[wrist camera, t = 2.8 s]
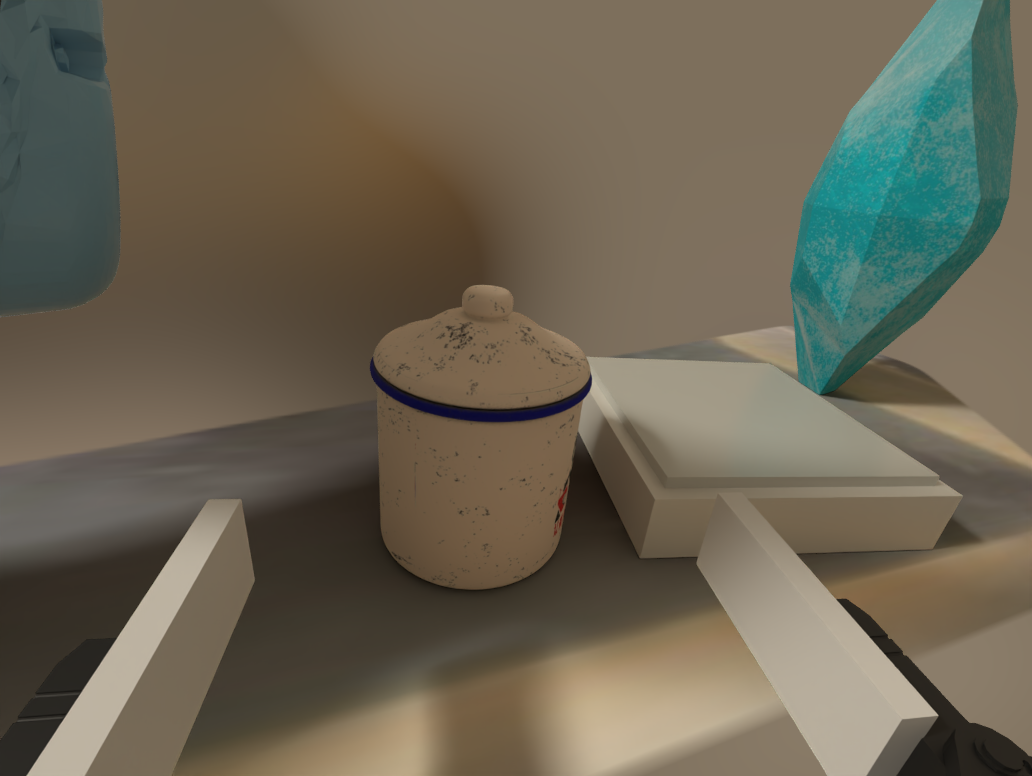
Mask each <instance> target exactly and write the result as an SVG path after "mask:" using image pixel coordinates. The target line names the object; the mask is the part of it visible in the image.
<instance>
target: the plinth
mask: <svg viewBox="0 0 1032 776" xmlns="http://www.w3.org/2000/svg"><path fill="white" fill-rule="evenodd" d="M586 358H587V360H588V363H589V365H590V372H591V375H592V386H591V389H590V391H589V393H588V394H587V396H586V397H585V398H584V399H583V404H582V410H581V416H580V422H579V428H578V432H579V434H580V436H581V438H582V440H583V442H584V444H585V446H586V448H587V450H588V452H589V454H590V456H591V458H592V461H593V463H594V465H595V467H596V469H597V471H598V473H599V475H600V477H601V479H602V481H603V483H604V485H605V487H606V489H607V492H608V494H609V496H610V498H611V500H612V502H613V504H614V506H615V508H616V510H617V512H618V514H619V516H620V518H621V520H622V523H623V525H624V527H625V529H626V531H627V533H628V535H629V537H630V539H631V541H632V543H633V545H634V547H635V549H636V551H637V554H638V556H639V558H670V557H698V556H699V553H700V550H701V546H702V543H703V540H704V537H705V533H706V530H707V527H708V524H709V520H710V517H711V514H712V511H713V507H714V504H715V501H716V497H717V494H718V493H732V492H742V493H743V494H744V496H745V497H746V498H747V499H748V500H749V501H750V502H751V503H752V505H753V506H754V507H755V508H756V509H757V510H758V511H759V513H760V514H761V515H762V516H763V517H764V518H765V519H766V520H767V522H768V523H769V524H770V525H771V526H772V527H773V528H774V530H775V531H776V532H777V533H778V534H779V535H780V536H781V537H782V539H783V540H784V541H785V542H786V543H787V544H788V545H789V547H790V548H791V549H792V550H793V551H794V552H795V553H796V554H798V553H831V552H863V551H895V550H927V549H933V547H934V546H935V544H936V542H937V540H938V539H939V537H940V535H941V533H942V532H943V530H944V528H945V526H946V525H947V523H948V521H949V519H950V518H951V516H952V514H953V512H954V511H955V509H956V507H957V505H958V504H959V502H960V500H961V499H962V497H963V496H962V495H961V494H959V493H958V492H956V491H955V490H953V489H952V488H950V487H949V486H947V485H946V484H944V483H943V482H941V481H940V480H938V479H939V477H940V476H939V475H937V474H936V473H934V472H933V471H931V470H930V469H928V468H927V467H925V466H924V465H922V464H921V463H919V462H918V461H916V460H915V459H913V458H912V457H910V456H909V455H907V454H906V453H904V452H903V451H901V450H900V449H898V448H897V447H895V446H894V445H892V444H891V443H889V442H888V441H886V440H885V439H883V438H882V437H880V436H879V435H877V434H876V433H874V432H873V431H871V430H870V429H868V428H867V427H865V426H864V425H862V424H861V423H859V422H858V421H856V420H855V419H853V418H852V417H850V416H849V415H847V414H846V413H844V412H842V411H841V410H839V409H838V408H836V407H835V406H833V405H832V404H830V403H829V402H827V401H826V400H824V399H823V398H821V397H820V396H818V395H817V394H815V393H814V392H812V391H811V390H809V389H808V388H806V387H805V386H803V385H802V384H800V383H799V382H797V381H796V380H794V379H793V378H791V377H790V376H788V375H787V374H785V373H784V372H782V371H781V370H779V369H778V368H776V367H775V366H773V365H772V364H767V363H739V362H712V361H684V360H656V359H629V358H601V357H586Z"/></svg>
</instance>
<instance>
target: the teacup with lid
mask: <svg viewBox="0 0 1032 776" xmlns="http://www.w3.org/2000/svg"><path fill="white" fill-rule="evenodd" d="M462 306H463V307H460V308H454V309H450V310H447V311H445V312H443V313H440V314H438V315H436V316H435V317H433V318H431V319H427V320H421V321H417V322H413V323H410V324H406V325H404V326H401V327H399V328H397V329H395V330H393V331H391V332H390V333H388V334H387V335H386V336H385V337H384V338H383V339H382V340H381V341H380V342H379V344H378V345H377V347H376V349H375V351H374V356H373V357H372V360H371V363H370V371H371V376H372V378H373V380H374V382H375V383H376V384H377V408H378V446H379V484H380V522H381V533H382V537H383V540H384V543H385V545H386V547H387V549H388V550H389V552H390V553H391V555H392V556H393V557H394V559H395V560H396V561H397V562H398V563H399V564H400V565H401V566H403V567H404V568H405V569H406V570H408V571H409V572H411V573H413V574H414V575H416V576H418V577H420V578H422V579H424V580H426V581H429V582H431V583H434V584H437V585H441V586H445V587H450V588H456V589H467V590H481V589H491V588H496V587H501V586H505V585H509V584H512V583H514V582H517V581H519V580H522V579H524V578H526V577H528V576H529V575H531V574H533V573H534V572H536V571H537V570H538V569H540V568H541V567H542V566H543V565H544V564H545V563H546V562H547V561H548V560H549V558H550V557H551V556H552V555H553V553H554V551H555V550H556V548H557V545H558V543H559V540H560V536H561V530H562V524H563V518H564V512H565V506H566V500H567V494H568V488H569V482H570V476H571V470H572V464H573V458H574V452H575V446H576V440H577V434H578V428H579V422H580V416H581V410H582V404H583V399H584V398H585V397H586V396H587V394H588V393H589V391H590V389H591V386H592V375H591V372H590V365H589V363H588V360H587V358H586V356H585V354H584V353H583V352H582V351H581V349H580V348H579V347H578V346H576V345H575V344H574V343H573V342H571V341H570V340H568V339H567V338H565V337H563V336H561V335H559V334H557V333H554V332H552V331H550V330H547V329H544V328H541V327H540V326H539V325H537V324H536V323H535V322H534V321H532V320H531V319H529V318H528V317H526V316H524V315H522V314H520V313H517V312H513V311H512V309H513V297H512V295H511V293H510V292H509V291H508V290H506V289H504V288H501V287H497V286H490V285H477V286H472V287H469V288H468V289H467V290H466V291H465V292H464V294H463V300H462Z"/></svg>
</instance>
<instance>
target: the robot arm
mask: <svg viewBox="0 0 1032 776" xmlns="http://www.w3.org/2000/svg"><path fill="white" fill-rule="evenodd" d="M106 63H107V56H106V48H105V40H104V33H103V7H102V0H0V317H6V316H14V315H23V314H32V313H40V312H49V311H56V310H65V309H71V308H74V307H77V306H80V305H83V304H86V302H89V301H91V300H93V299H94V298H96V297H98V296H99V295H100V294H102V293H103V292H104V291H105V290H106V289H107V288H108V287H109V285H110V284H111V283H112V281H113V279H114V277H115V275H116V272H117V268H118V265H119V258H120V197H119V179H118V165H117V151H116V137H115V126H114V116H113V107H112V97H111V90H110V85H109V81H108V78H107V75H106V73H105V68H104V67H105V65H106ZM696 564H697V566H698V568H699V569H700V571H701V572H702V574H703V576H704V577H705V579H706V580H707V582H708V584H709V585H710V587H711V588H712V590H713V592H714V593H715V595H716V597H717V598H718V600H719V601H720V603H721V605H722V606H723V608H724V609H725V611H726V613H727V614H728V616H729V617H730V619H731V621H732V622H733V624H734V626H735V627H736V629H737V630H738V632H739V634H740V635H741V637H742V638H743V640H744V642H745V643H746V645H747V647H748V648H749V650H750V651H751V653H752V655H753V656H754V658H755V659H756V661H757V663H758V664H759V666H760V667H761V669H762V671H763V672H764V674H765V676H766V677H767V679H768V680H769V682H770V684H771V685H772V687H773V688H774V690H775V692H776V693H777V695H778V696H779V698H780V700H781V701H782V703H783V705H784V706H785V708H786V709H787V711H788V713H789V714H790V716H791V717H792V719H793V721H794V722H795V724H796V725H797V727H798V729H799V730H800V732H801V734H802V735H803V737H804V738H805V740H806V742H807V743H808V745H809V746H810V748H811V750H812V751H813V753H814V754H815V756H816V758H817V759H818V761H819V763H820V764H821V766H822V767H823V769H824V771H825V772H826V774H827V775H828V776H1032V757H1031V756H1028V755H1027V754H1026V753H1025V752H1024V751H1023V750H1022V749H1021V748H1019V747H1018V746H1017V745H1016V744H1014V743H1013V742H1012V741H1011V740H1010V739H1008V738H1006V737H1005V736H1003V735H1001V734H999V733H998V732H996V731H994V730H993V729H990V728H988V727H985V726H982V725H979V724H976V723H969V722H968V721H967V720H966V719H965V718H964V717H963V716H962V715H961V714H960V713H959V712H958V711H957V710H956V709H955V708H954V706H952V704H951V703H950V702H949V701H948V700H947V699H946V698H945V697H944V696H943V695H942V694H941V692H940V691H939V690H938V689H937V688H936V687H935V686H934V685H933V684H932V683H931V682H930V680H929V679H928V678H927V677H926V676H925V675H924V674H923V673H922V672H921V671H920V670H919V669H918V667H917V666H916V665H915V664H914V663H913V662H912V661H911V660H910V659H909V658H908V657H907V656H904V655H903V653H902V652H903V651H902V650H901V649H900V648H899V647H898V646H897V645H896V644H895V643H894V642H893V640H892V639H888V635H887V634H886V633H885V632H884V631H883V630H882V629H881V627H880V626H879V625H878V624H877V623H876V622H875V621H874V620H873V619H872V618H871V617H870V616H869V615H868V614H867V613H865V612H864V611H863V610H861V609H860V608H858V607H857V606H856V605H854V604H853V603H852V602H850V601H849V600H847V599H835V598H834V596H833V595H832V594H831V593H830V592H829V591H828V590H827V588H826V587H825V586H824V585H823V584H822V583H821V582H820V581H819V579H818V578H817V577H816V576H815V575H814V574H813V573H812V571H811V570H810V569H809V568H808V567H807V566H806V565H805V564H804V562H803V561H802V560H801V559H800V558H799V557H798V556H797V554H796V553H795V552H794V551H793V550H792V549H791V548H790V547H789V545H788V544H787V543H786V542H785V541H784V540H783V539H782V537H781V536H780V535H779V534H778V533H777V532H776V531H775V530H774V528H773V527H772V526H771V525H770V524H769V523H768V522H767V520H766V519H765V518H764V517H763V516H762V515H761V514H760V513H759V511H758V510H757V509H756V508H755V507H754V506H753V505H752V503H751V502H750V501H749V500H748V499H747V498H746V497H745V496H744V494H743V493H742V492H732V493H718V494H717V497H716V501H715V504H714V507H713V511H712V514H711V517H710V520H709V524H708V527H707V530H706V533H705V537H704V540H703V543H702V546H701V550H700V553H699V556H698V559H697V563H696ZM254 581H255V577H254V571H253V565H252V560H251V554H250V548H249V542H248V536H247V530H246V524H245V518H244V513H243V507H242V501H241V499H208V501H207V503H206V504H205V506H204V507H203V509H202V510H201V512H200V513H199V515H198V516H197V518H196V519H195V521H194V522H193V524H192V525H191V527H190V528H189V530H188V531H187V533H186V534H185V536H184V537H183V539H182V541H181V542H180V544H179V545H178V547H177V548H176V550H175V551H174V553H173V554H172V556H171V557H170V559H169V560H168V562H167V563H166V565H165V566H164V568H163V569H162V571H161V572H160V574H159V575H158V577H157V578H156V580H155V582H154V583H153V585H152V586H151V588H150V589H149V591H148V592H147V594H146V595H145V597H144V598H143V600H142V601H141V603H140V604H139V606H138V607H137V609H136V610H135V612H134V613H133V615H132V616H131V618H130V620H129V621H128V623H127V624H126V626H125V627H124V629H123V630H122V632H121V633H120V635H119V636H118V638H108V639H89V640H86V641H84V642H83V643H82V644H81V645H80V646H78V647H77V648H76V649H75V650H74V651H72V652H71V653H70V654H69V655H68V656H66V657H65V658H64V659H63V660H62V661H60V662H59V663H58V664H57V665H56V666H55V668H54V669H53V670H52V672H51V673H50V674H49V676H48V677H47V678H46V680H45V681H44V683H43V684H42V685H41V687H40V688H39V689H38V691H37V692H36V696H35V698H33V699H31V700H30V701H29V703H28V704H27V705H26V707H25V708H24V709H23V711H22V712H21V714H20V715H19V716H18V721H17V722H16V723H13V724H12V726H11V727H10V728H9V730H8V731H7V732H6V734H5V735H4V736H3V738H2V739H1V740H0V776H172V774H173V771H174V769H175V767H176V764H177V762H178V759H179V757H180V755H181V752H182V750H183V748H184V745H185V743H186V741H187V738H188V736H189V734H190V731H191V729H192V727H193V724H194V722H195V720H196V717H197V715H198V713H199V710H200V708H201V706H202V703H203V701H204V699H205V696H206V694H207V692H208V689H209V687H210V685H211V682H212V680H213V678H214V675H215V673H216V670H217V668H218V666H219V663H220V661H221V659H222V656H223V654H224V652H225V649H226V647H227V645H228V642H229V640H230V638H231V635H232V633H233V631H234V628H235V626H236V624H237V621H238V619H239V617H240V614H241V612H242V610H243V607H244V605H245V603H246V600H247V598H248V596H249V593H250V591H251V588H252V586H253V584H254Z"/></svg>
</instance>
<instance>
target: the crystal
mask: <svg viewBox="0 0 1032 776" xmlns="http://www.w3.org/2000/svg"><path fill="white" fill-rule="evenodd" d="M1017 107H1018V103H1017V97H1016V91H1015V84H1014V74H1013V60H1012V45H1011V31H1010V0H937V1H936V3H935V4H934V5H933V6H932V8H931V9H930V10H929V12H928V13H927V14H926V16H925V17H924V18H923V19H922V21H921V22H920V23H919V25H918V26H917V27H916V28H915V30H914V31H913V32H912V34H911V35H910V36H909V37H908V39H907V40H906V41H905V43H904V44H903V45H902V46H901V48H900V49H899V50H898V52H897V53H896V54H895V55H894V57H893V58H892V59H891V61H890V62H889V63H888V64H887V66H886V67H885V68H884V70H883V71H882V72H881V73H880V75H879V76H878V77H877V79H876V80H875V81H874V83H873V84H872V85H871V86H870V88H869V89H868V90H867V92H866V93H865V94H864V95H863V96H862V98H861V99H860V100H859V101H858V102H857V104H856V105H855V106H854V107H853V108H852V110H851V111H850V112H849V114H848V116H847V118H846V120H845V122H844V124H843V126H842V127H841V130H840V131H839V133H838V135H837V137H836V139H835V141H834V143H833V145H832V147H831V149H830V151H829V153H828V154H827V156H826V158H825V160H824V162H823V164H822V166H821V168H820V170H819V172H818V175H817V176H816V178H815V180H814V182H813V184H812V186H811V188H810V190H809V192H808V194H807V196H806V198H805V201H804V204H803V210H802V216H801V222H800V229H799V235H798V241H797V247H796V254H795V260H794V265H793V272H792V278H791V284H790V287H791V294H792V300H793V313H794V326H795V339H796V352H797V365H798V378H799V382H800V383H802V384H804V385H805V386H807V387H808V388H810V389H811V390H813V391H814V392H816V393H817V394H819V395H823V394H826V393H829V392H832V391H835V390H836V389H837V388H838V387H839V386H841V385H842V384H843V383H844V382H845V381H846V380H848V379H849V378H850V377H851V376H852V375H853V374H855V373H856V372H857V371H858V370H859V369H860V368H861V367H863V366H864V365H865V364H866V363H867V362H868V361H870V360H871V359H872V358H873V357H874V356H876V355H877V354H878V353H879V352H880V351H882V350H883V349H884V348H885V347H887V346H888V345H889V344H890V343H891V342H892V341H894V340H895V339H896V338H897V337H898V336H900V335H901V334H902V333H903V332H905V331H906V330H907V329H908V328H910V327H911V326H912V325H914V324H915V323H916V322H918V321H919V320H920V319H922V318H923V317H924V316H925V314H926V313H927V312H928V311H929V310H930V309H931V308H932V307H933V306H934V305H935V303H937V301H938V300H939V299H940V298H941V297H942V296H943V295H944V294H945V293H946V292H947V290H948V289H949V288H950V287H951V286H952V285H953V284H954V283H955V282H956V281H957V280H958V279H959V277H960V276H961V275H962V274H963V273H964V272H965V271H966V270H967V269H968V268H969V267H970V265H971V264H972V263H973V262H974V261H975V260H976V259H977V258H978V257H979V256H980V255H981V253H982V252H983V251H984V249H985V248H986V246H987V245H988V243H989V242H990V240H991V239H992V237H993V235H994V234H995V232H996V231H997V229H998V228H999V226H1000V223H1001V220H1002V217H1003V214H1004V211H1005V208H1006V204H1007V201H1008V198H1009V189H1010V178H1011V165H1012V155H1013V144H1014V135H1015V126H1016V116H1017Z"/></svg>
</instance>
